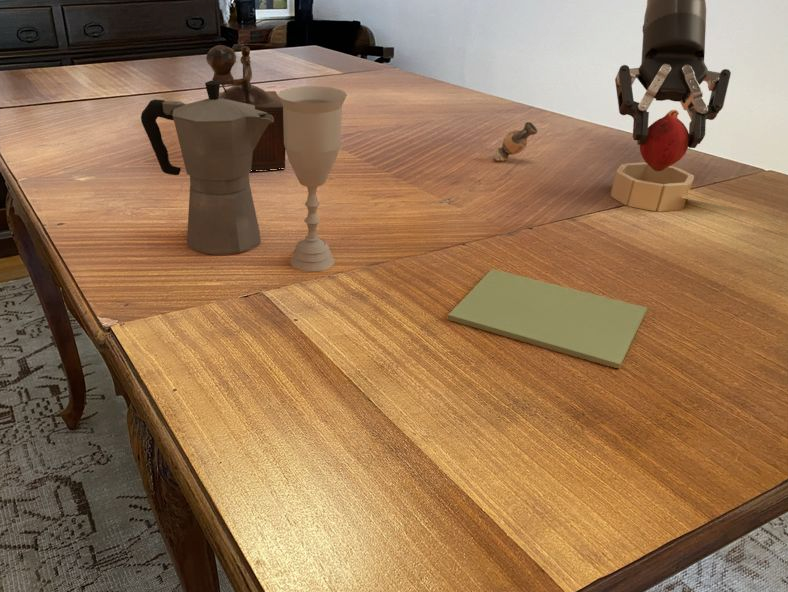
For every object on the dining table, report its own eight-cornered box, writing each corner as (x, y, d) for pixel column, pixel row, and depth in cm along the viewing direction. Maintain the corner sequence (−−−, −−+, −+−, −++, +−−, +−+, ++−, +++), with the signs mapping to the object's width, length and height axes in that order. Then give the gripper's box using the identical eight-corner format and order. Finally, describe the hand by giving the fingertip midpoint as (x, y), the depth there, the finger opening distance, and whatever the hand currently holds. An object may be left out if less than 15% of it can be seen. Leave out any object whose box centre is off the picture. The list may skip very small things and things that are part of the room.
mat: (646, 312, 70) (647, 307, 69) (618, 369, 61) (620, 364, 61) (491, 273, 77) (492, 268, 76) (447, 319, 68) (447, 314, 68)
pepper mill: (209, 153, 112) (199, 30, 103) (278, 149, 114) (275, 29, 104) (215, 185, 99) (205, 48, 90) (292, 181, 101) (291, 46, 92)
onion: (664, 181, 91) (681, 118, 87) (625, 169, 95) (639, 109, 91) (689, 172, 94) (706, 111, 90) (650, 161, 98) (664, 102, 94)
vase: (537, 159, 111) (543, 121, 108) (524, 168, 107) (531, 128, 104) (504, 153, 113) (509, 115, 110) (491, 162, 110) (496, 123, 106)
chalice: (284, 247, 82) (281, 85, 72) (343, 248, 82) (347, 86, 72) (278, 275, 76) (274, 102, 66) (342, 276, 76) (346, 104, 66)
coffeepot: (289, 231, 86) (286, 75, 76) (263, 263, 78) (256, 95, 69) (173, 217, 89) (156, 67, 80) (137, 247, 82) (114, 84, 72)
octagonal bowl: (690, 195, 98) (697, 170, 96) (679, 216, 91) (687, 190, 89) (620, 182, 102) (626, 158, 100) (605, 202, 95) (611, 176, 93)
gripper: (624, 8, 92) (617, 125, 89) (744, 11, 90) (740, 131, 86) (610, 45, 99) (602, 154, 96) (720, 49, 97) (716, 161, 93)
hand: (668, 143), depth 91 cm, fingers closed on onion, 5 cm apart
